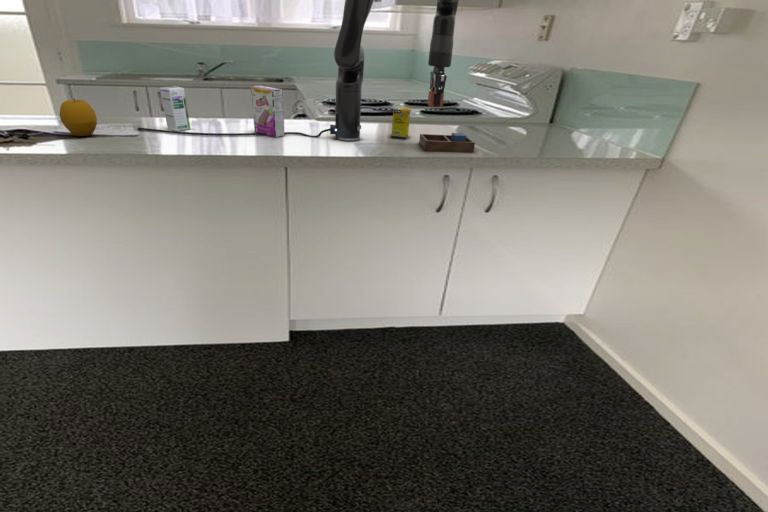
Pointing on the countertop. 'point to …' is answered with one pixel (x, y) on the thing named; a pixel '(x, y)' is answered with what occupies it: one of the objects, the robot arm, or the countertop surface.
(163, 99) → the syrup box
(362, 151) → the countertop surface
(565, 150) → the countertop surface
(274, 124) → the candy bar box
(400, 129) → the supplement box
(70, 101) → the apple
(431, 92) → the terracotta block
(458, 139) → the blue block
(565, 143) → the countertop surface
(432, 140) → the sorting tray
